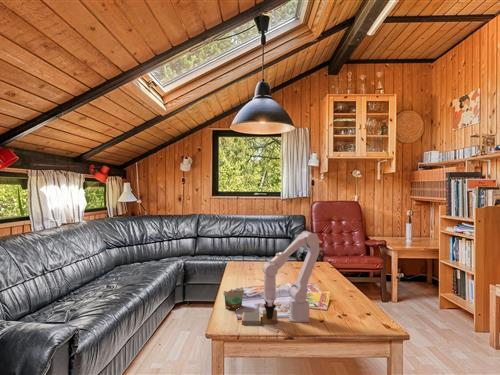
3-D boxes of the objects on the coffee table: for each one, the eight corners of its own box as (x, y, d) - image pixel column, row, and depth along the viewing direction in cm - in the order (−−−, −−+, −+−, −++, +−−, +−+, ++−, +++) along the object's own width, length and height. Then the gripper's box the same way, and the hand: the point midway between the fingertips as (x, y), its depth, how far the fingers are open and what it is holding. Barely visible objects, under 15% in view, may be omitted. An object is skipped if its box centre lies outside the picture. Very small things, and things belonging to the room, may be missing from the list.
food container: (229, 313, 170) (229, 294, 170) (223, 309, 175) (223, 290, 175) (248, 307, 178) (248, 289, 178) (242, 304, 183) (242, 286, 183)
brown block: (276, 319, 162) (276, 310, 162) (277, 324, 157) (277, 314, 157) (262, 319, 163) (262, 309, 162) (262, 324, 158) (262, 313, 157)
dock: (260, 316, 166) (260, 312, 166) (260, 325, 156) (260, 320, 156) (243, 316, 166) (243, 312, 166) (241, 324, 156) (241, 320, 156)
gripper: (261, 283, 167) (261, 309, 167) (261, 292, 153) (261, 321, 153) (275, 283, 167) (275, 309, 167) (276, 293, 152) (276, 321, 152)
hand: (269, 315), depth 160 cm, fingers open, 7 cm apart
